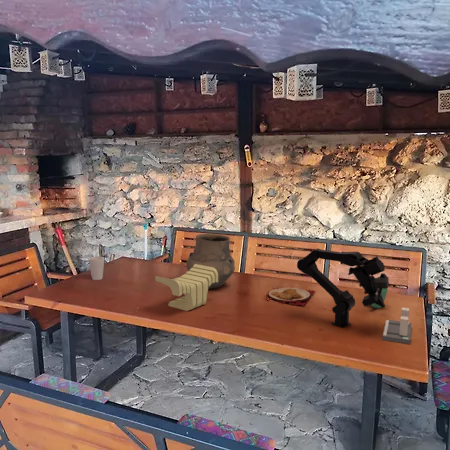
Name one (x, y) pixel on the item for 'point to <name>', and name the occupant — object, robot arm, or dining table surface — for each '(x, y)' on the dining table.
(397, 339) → the switch block
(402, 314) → the switch tab
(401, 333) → the block
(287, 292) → the plate with food
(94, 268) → the foam cup
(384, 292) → the mug
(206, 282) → the slatted curved stool
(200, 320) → the dining table surface
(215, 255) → the ceramic pot
